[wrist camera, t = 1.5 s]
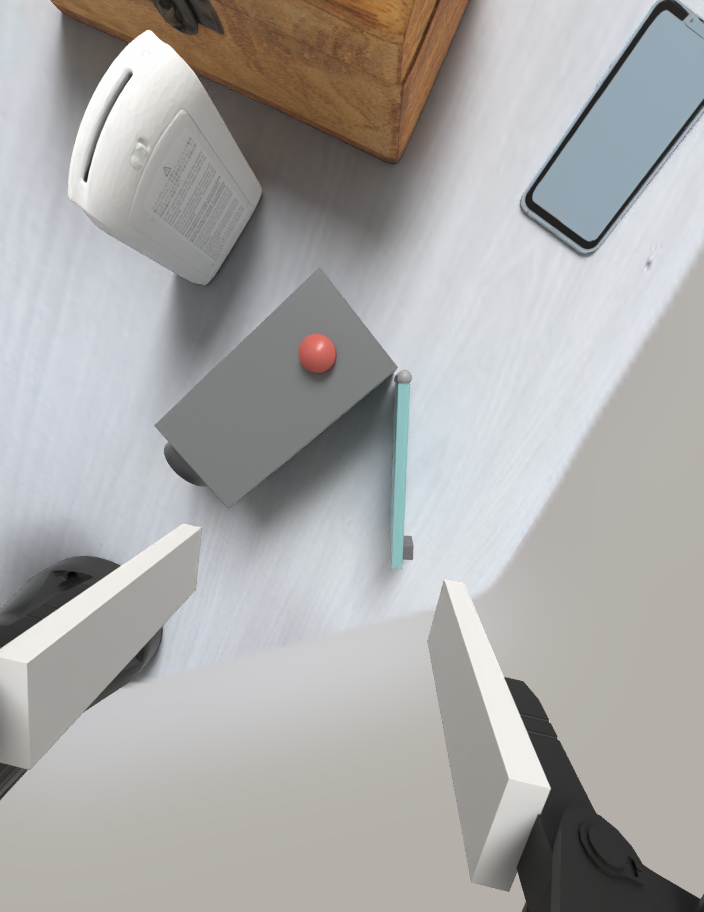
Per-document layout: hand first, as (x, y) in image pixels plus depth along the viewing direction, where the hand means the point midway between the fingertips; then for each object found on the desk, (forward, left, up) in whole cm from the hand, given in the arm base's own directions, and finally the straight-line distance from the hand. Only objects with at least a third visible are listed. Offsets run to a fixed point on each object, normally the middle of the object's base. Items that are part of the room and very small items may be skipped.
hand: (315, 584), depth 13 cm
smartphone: (+32, +7, -20) cm, 38 cm away
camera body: (-1, +8, -20) cm, 21 cm away
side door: (+4, -2, -19) cm, 19 cm away
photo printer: (+4, +23, -20) cm, 31 cm away
